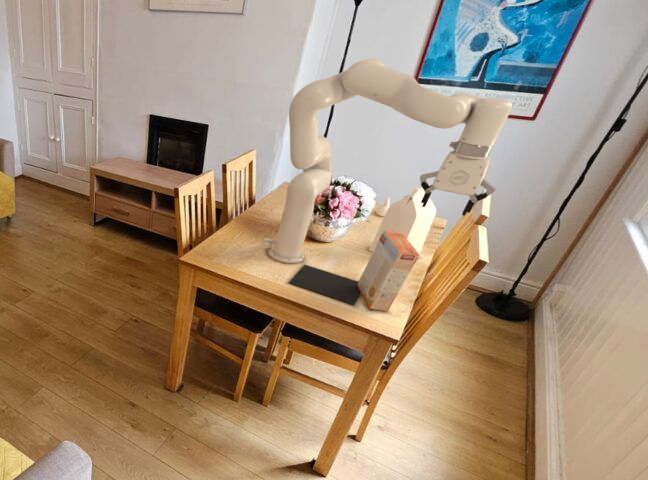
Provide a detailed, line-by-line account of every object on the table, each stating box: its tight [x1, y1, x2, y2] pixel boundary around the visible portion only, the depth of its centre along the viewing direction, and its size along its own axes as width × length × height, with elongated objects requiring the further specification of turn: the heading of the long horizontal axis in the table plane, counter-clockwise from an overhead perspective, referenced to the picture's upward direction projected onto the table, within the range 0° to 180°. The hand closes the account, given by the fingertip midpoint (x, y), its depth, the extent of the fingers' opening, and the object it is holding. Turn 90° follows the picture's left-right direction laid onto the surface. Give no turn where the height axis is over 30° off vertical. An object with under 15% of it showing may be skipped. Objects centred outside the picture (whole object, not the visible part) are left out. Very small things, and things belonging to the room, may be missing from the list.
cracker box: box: [357, 231, 421, 312], centre depth 139 cm, size 14×6×21 cm, turn 168°
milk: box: [368, 186, 437, 254], centre depth 163 cm, size 12×12×26 cm
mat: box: [288, 264, 362, 307], centre depth 152 cm, size 20×16×1 cm
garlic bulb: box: [375, 196, 391, 218], centre depth 198 cm, size 6×6×8 cm
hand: (443, 209), depth 128 cm, fingers open, 9 cm apart
